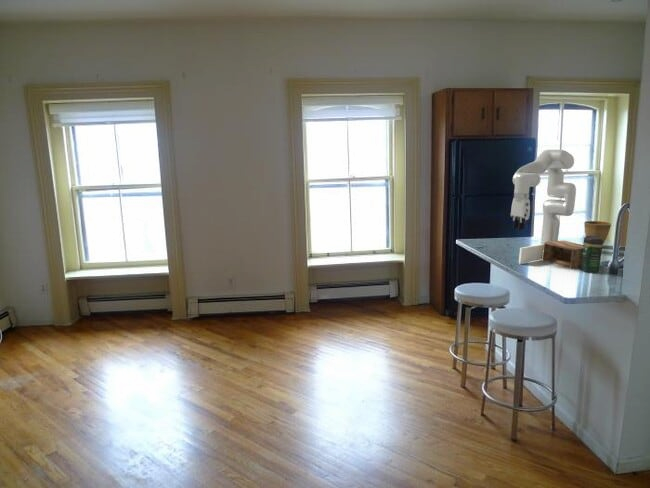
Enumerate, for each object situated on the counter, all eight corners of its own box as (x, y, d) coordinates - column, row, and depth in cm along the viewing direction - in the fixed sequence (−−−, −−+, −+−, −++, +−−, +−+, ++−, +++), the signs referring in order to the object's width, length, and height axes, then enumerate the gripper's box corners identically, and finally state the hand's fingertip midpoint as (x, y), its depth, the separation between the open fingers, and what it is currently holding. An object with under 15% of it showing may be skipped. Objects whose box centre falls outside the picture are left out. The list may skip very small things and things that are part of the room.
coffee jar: (601, 273, 225) (606, 238, 221) (584, 272, 227) (588, 237, 223) (594, 268, 235) (598, 234, 231) (578, 267, 236) (582, 234, 232)
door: (542, 259, 253) (544, 244, 251) (520, 263, 244) (521, 248, 242) (539, 258, 255) (540, 243, 253) (516, 262, 246) (517, 247, 244)
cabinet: (561, 257, 257) (563, 240, 255) (591, 266, 239) (593, 247, 237) (542, 259, 253) (544, 242, 251) (571, 268, 235) (573, 249, 232)
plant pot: (598, 244, 293) (601, 220, 289) (613, 249, 278) (616, 224, 275) (576, 244, 292) (579, 220, 289) (590, 249, 278) (593, 224, 275)
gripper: (538, 197, 236) (534, 230, 240) (516, 194, 252) (513, 225, 255) (526, 198, 234) (523, 231, 238) (505, 195, 249) (502, 226, 253)
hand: (518, 228), depth 247 cm, fingers open, 3 cm apart
